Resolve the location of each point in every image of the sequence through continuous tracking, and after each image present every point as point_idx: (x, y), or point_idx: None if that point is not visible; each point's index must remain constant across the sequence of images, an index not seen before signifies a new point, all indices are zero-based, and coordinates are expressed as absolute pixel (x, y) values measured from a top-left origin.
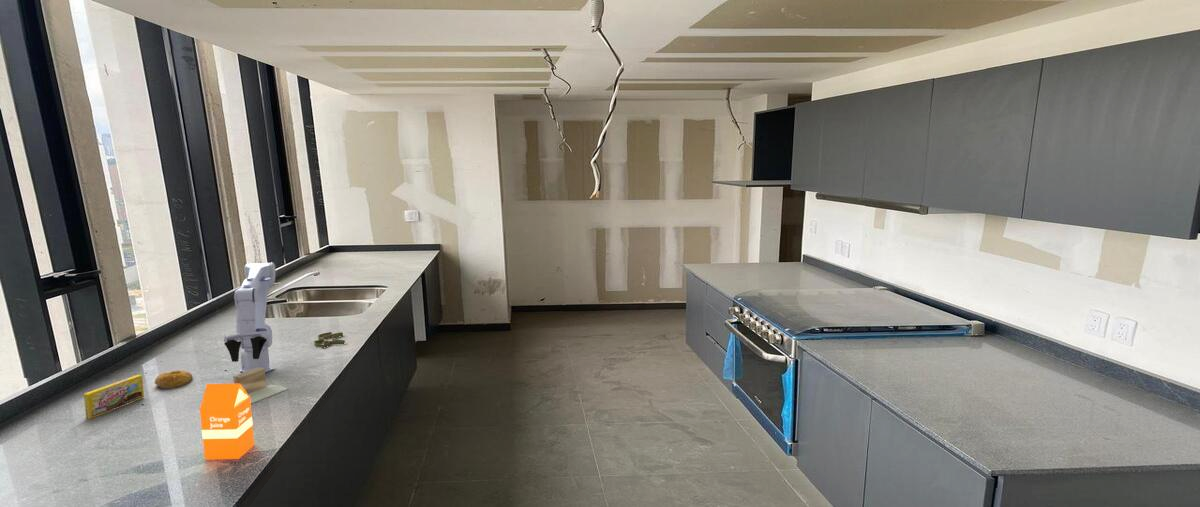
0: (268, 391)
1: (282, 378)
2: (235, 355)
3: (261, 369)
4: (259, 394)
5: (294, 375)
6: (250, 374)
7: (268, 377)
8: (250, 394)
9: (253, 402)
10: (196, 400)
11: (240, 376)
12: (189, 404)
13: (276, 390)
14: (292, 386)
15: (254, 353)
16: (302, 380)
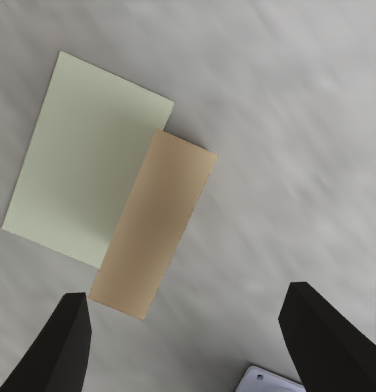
0: (68, 191)
1: (111, 344)
2: (314, 353)
3: (98, 284)
4: (87, 155)
5: None
6: (126, 207)
7: (182, 353)
8: (130, 152)
9: (56, 64)
10: (359, 78)
11: (157, 149)
12: (364, 27)
13: (37, 204)
14: (5, 261)
15: (39, 339)
16: (6, 327)
